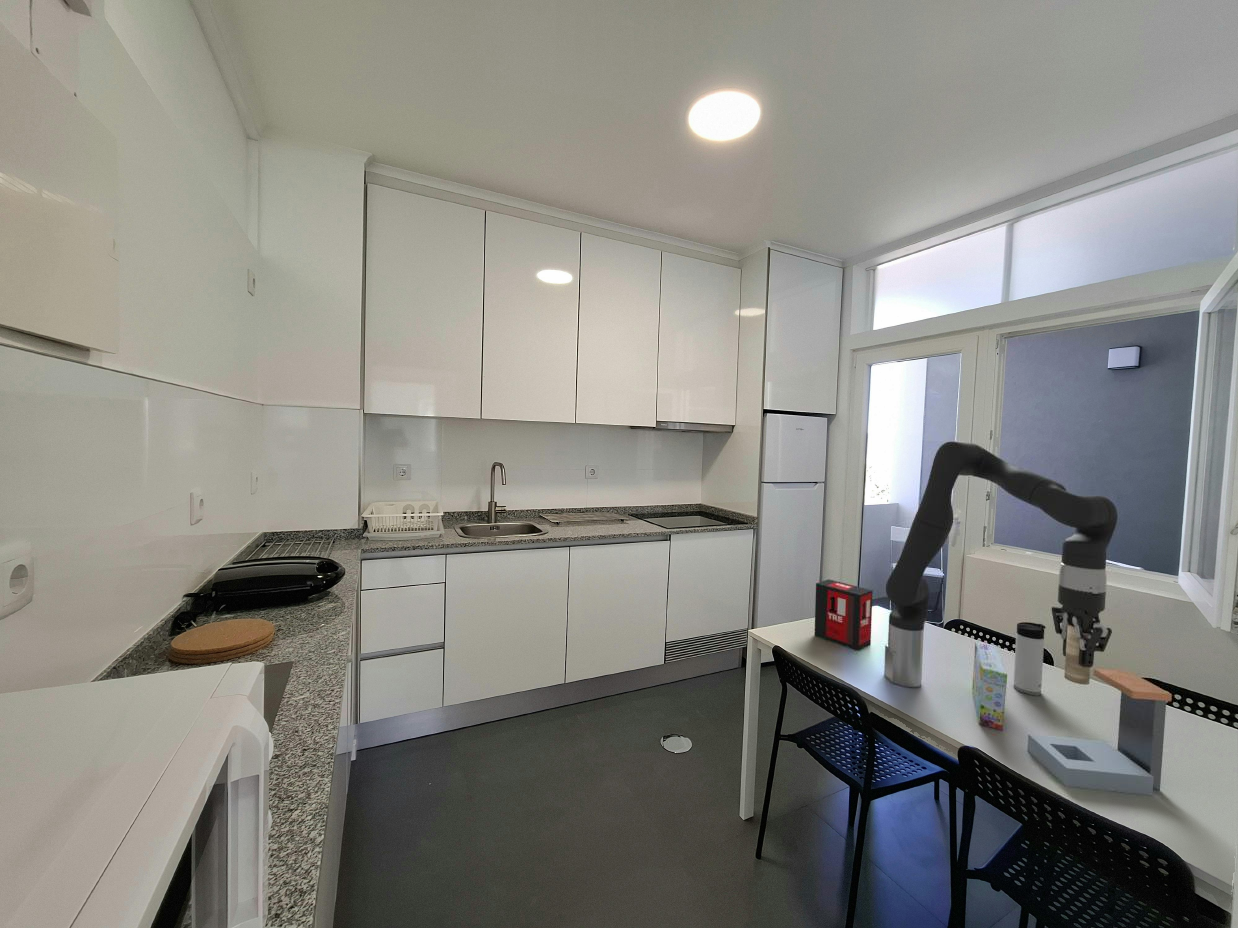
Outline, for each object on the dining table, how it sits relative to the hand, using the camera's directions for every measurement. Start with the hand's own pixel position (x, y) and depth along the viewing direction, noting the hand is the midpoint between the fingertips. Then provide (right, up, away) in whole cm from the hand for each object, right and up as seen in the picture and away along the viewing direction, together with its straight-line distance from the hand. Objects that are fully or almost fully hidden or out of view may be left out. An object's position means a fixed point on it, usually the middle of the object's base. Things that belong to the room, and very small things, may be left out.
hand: (1077, 661), depth 106 cm
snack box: (0, -24, +26) cm, 35 cm away
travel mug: (+19, -23, +36) cm, 47 cm away
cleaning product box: (-20, -21, +70) cm, 76 cm away
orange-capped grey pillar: (+10, -25, 0) cm, 27 cm away
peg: (0, -4, 0) cm, 4 cm away
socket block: (+3, -25, +1) cm, 25 cm away
